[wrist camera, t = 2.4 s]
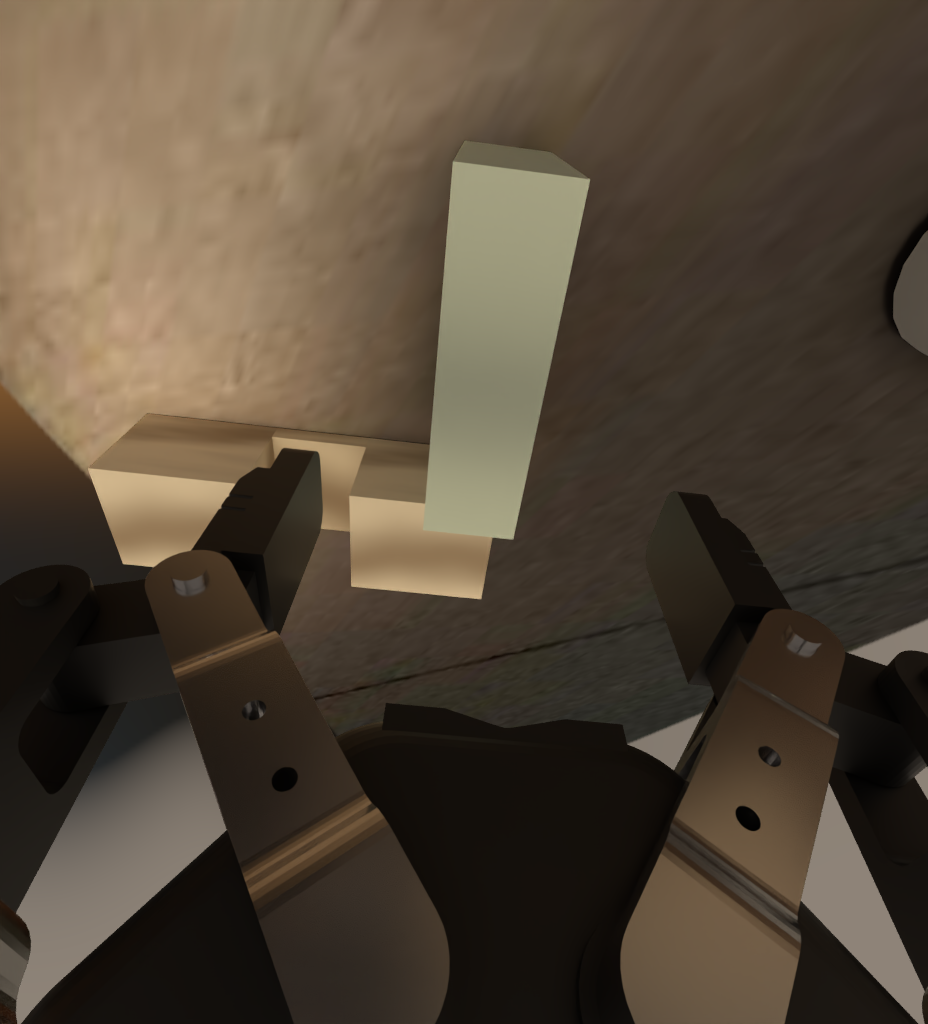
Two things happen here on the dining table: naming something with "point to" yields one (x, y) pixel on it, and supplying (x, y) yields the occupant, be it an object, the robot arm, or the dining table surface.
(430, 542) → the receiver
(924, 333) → the can
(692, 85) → the dining table surface
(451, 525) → the sage green tall block
